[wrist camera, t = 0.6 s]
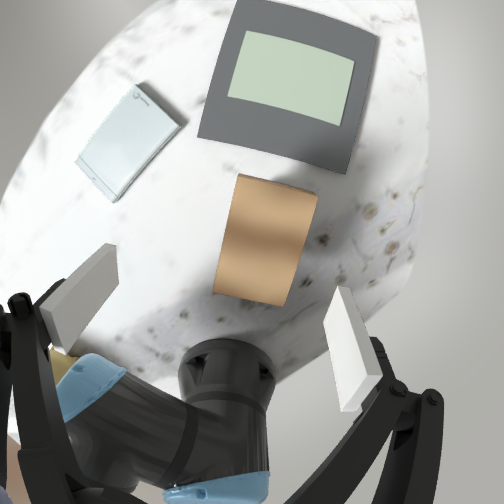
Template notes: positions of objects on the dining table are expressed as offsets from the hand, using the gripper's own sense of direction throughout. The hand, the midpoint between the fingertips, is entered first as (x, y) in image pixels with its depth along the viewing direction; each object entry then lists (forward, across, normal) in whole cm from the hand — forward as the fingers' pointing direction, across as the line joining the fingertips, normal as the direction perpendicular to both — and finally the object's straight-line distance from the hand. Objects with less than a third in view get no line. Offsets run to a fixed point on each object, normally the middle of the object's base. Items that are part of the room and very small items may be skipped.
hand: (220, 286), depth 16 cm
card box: (+12, -2, +2) cm, 12 cm away
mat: (+19, -3, -15) cm, 25 cm away
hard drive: (+18, +16, -5) cm, 24 cm away
